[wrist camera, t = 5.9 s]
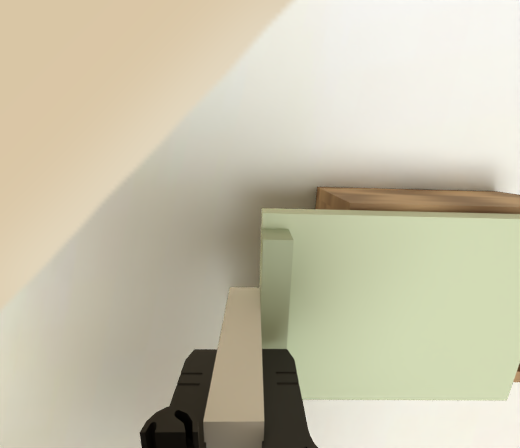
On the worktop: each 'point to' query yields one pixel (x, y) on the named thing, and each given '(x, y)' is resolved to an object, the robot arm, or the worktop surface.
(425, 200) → the box
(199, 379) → the robot arm
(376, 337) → the lid
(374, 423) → the worktop surface
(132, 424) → the worktop surface
